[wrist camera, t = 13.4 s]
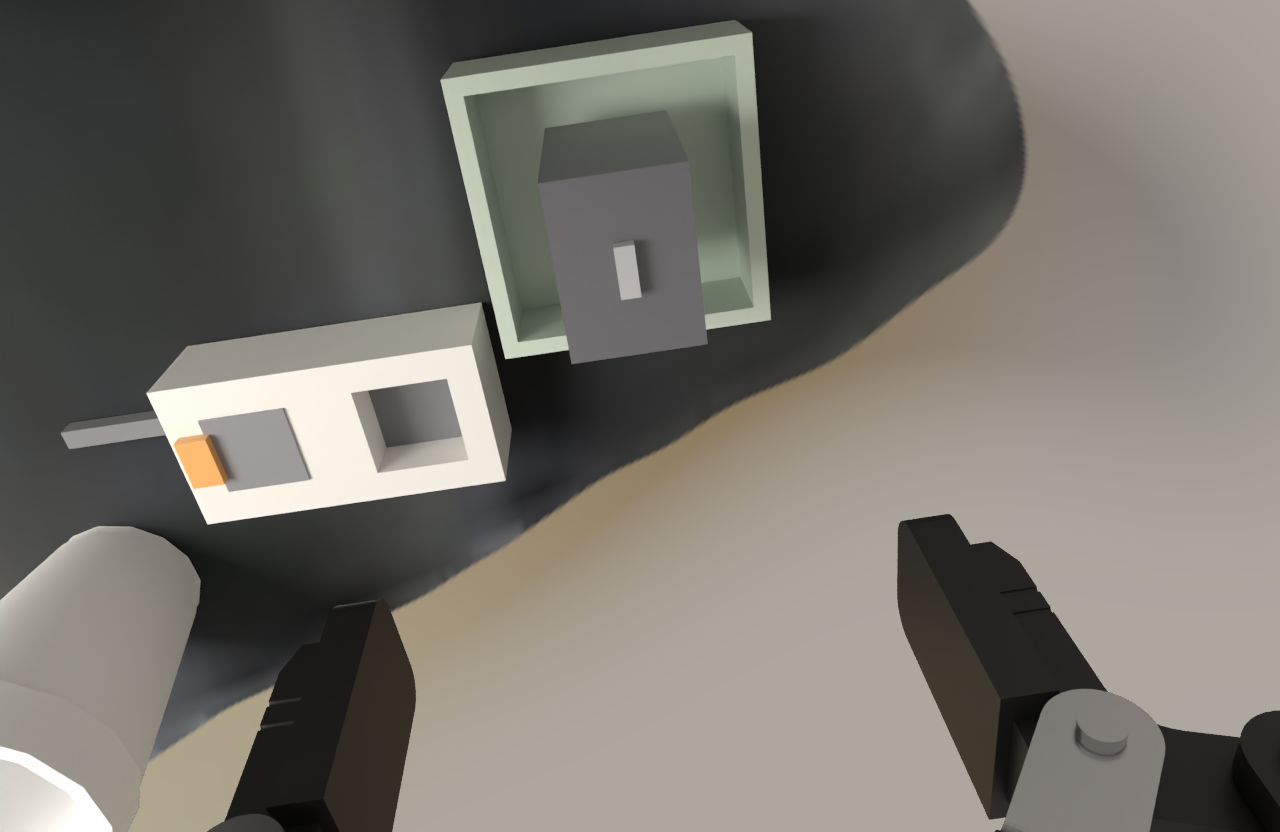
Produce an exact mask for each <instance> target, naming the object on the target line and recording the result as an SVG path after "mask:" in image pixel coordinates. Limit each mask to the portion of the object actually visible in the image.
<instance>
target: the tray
mask: <svg viewBox="0 0 1280 832" xmlns="http://www.w3.org/2000/svg"><path fill="white" fill-rule="evenodd" d="M441 85H442V89H443V93H444V98H445V102H446V106H447V111H448V115H449V119H450V123H451V128H452V132H453V136H454V141H455V145H456V149H457V154H458V158H459V162H460V166H461V171H462V175H463V179H464V184H465V188H466V192H467V197H468V201H469V205H470V209H471V214H472V218H473V222H474V227H475V231H476V235H477V240H478V244H479V248H480V252H481V257H482V261H483V265H484V270H485V274H486V278H487V283H488V287H489V291H490V295H491V300H492V304H493V308H494V313H495V317H496V321H497V326H498V330H499V334H500V339H501V343H502V347H503V351H504V356H505V359H510V358H517V357H524V356H531V355H537V354H544V353H551V352H558V351H564V350H569V347H568V342H567V337H566V332H565V326H564V321H563V316H562V311H561V305H560V300H559V295H558V290H557V284H556V279H555V274H554V268H553V263H552V258H551V253H550V247H549V242H548V237H547V232H546V226H545V221H544V216H543V211H542V205H541V200H540V195H539V190H538V184H537V183H538V175H539V168H540V160H541V153H542V145H543V138H544V130H545V128H550V127H557V126H563V125H570V124H577V123H583V122H590V121H597V120H603V119H610V118H617V117H623V116H630V115H637V114H643V113H650V112H657V111H663V110H666V111H667V113H668V115H669V118H670V120H671V122H672V124H673V127H674V129H675V131H676V133H677V136H678V138H679V140H680V143H681V145H682V147H683V149H684V152H685V154H686V156H687V159H688V161H689V169H690V179H691V189H692V198H693V208H694V218H695V227H696V237H697V246H698V256H699V266H700V275H701V285H702V294H703V304H704V314H705V323H706V329H713V328H720V327H726V326H733V325H740V324H746V323H753V322H760V321H767V320H771V313H770V298H769V283H768V267H767V252H766V237H765V222H764V207H763V191H762V176H761V161H760V146H759V130H758V115H757V100H756V85H755V69H754V54H753V39H752V32H751V31H750V30H748V29H747V28H745V27H744V26H743V25H741V24H740V23H739V22H737V21H736V20H731V21H724V22H717V23H711V24H704V25H698V26H691V27H685V28H678V29H672V30H665V31H658V32H652V33H645V34H639V35H632V36H626V37H619V38H612V39H606V40H599V41H593V42H586V43H580V44H573V45H566V46H560V47H553V48H547V49H540V50H534V51H527V52H520V53H514V54H507V55H501V56H494V57H488V58H481V59H474V60H468V61H461V62H455V63H453V64H452V65H451V66H450V68H449V69H448V70H447V72H446V73H445V74H444V76H443V77H442V78H441Z"/></svg>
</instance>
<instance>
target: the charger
mask: <svg viewBox="0 0 1280 832" xmlns="http://www.w3.org/2000/svg"><path fill="white" fill-rule="evenodd" d="M537 184H538V190H539V195H540V200H541V205H542V211H543V216H544V221H545V226H546V232H547V237H548V242H549V247H550V253H551V258H552V263H553V268H554V274H555V279H556V284H557V290H558V295H559V300H560V305H561V311H562V316H563V321H564V326H565V332H566V337H567V342H568V347H569V353H570V358H571V363H572V364H576V363H583V362H589V361H596V360H603V359H610V358H617V357H624V356H630V355H637V354H644V353H651V352H658V351H664V350H671V349H678V348H685V347H692V346H699V345H705V344H708V343H707V333H706V323H705V314H704V304H703V294H702V285H701V275H700V266H699V256H698V246H697V237H696V227H695V218H694V208H693V198H692V189H691V179H690V169H689V161H688V159H687V156H686V154H685V152H684V149H683V147H682V145H681V143H680V140H679V138H678V136H677V133H676V131H675V129H674V127H673V124H672V122H671V120H670V118H669V115H668V113H667V111H666V110H663V111H657V112H650V113H643V114H637V115H630V116H623V117H617V118H610V119H603V120H597V121H590V122H583V123H577V124H570V125H563V126H557V127H550V128H545V130H544V138H543V145H542V153H541V160H540V168H539V175H538V183H537Z"/></svg>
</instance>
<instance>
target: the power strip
mask: <svg viewBox="0 0 1280 832" xmlns="http://www.w3.org/2000/svg"><path fill="white" fill-rule="evenodd" d="M147 395H148V398H149V400H150V402H151V404H152V406H153V408H154V411H148V412H141V413H134V414H127V415H121V416H114V417H107V418H100V419H94V420H87V421H80V422H73V423H70V424H69V425H68V426H67V427H66V428H65V429H64V430H63V431H62V432H61V435H62V436H63V438H64V440H65V442H66V444H67V446H68V448H69V449H73V448H80V447H87V446H94V445H100V444H107V443H114V442H121V441H128V440H134V439H141V438H148V437H155V436H161V435H166V436H167V438H168V441H169V443H170V445H171V447H172V449H173V451H174V453H175V456H176V458H177V460H178V462H179V464H180V466H181V468H182V471H183V473H184V475H185V477H186V479H187V481H188V483H189V486H190V488H191V490H192V492H193V494H194V496H195V499H196V501H197V503H198V505H199V507H200V509H201V511H202V514H203V516H204V518H205V520H206V522H207V524H214V523H220V522H227V521H234V520H241V519H248V518H255V517H261V516H268V515H275V514H282V513H289V512H295V511H302V510H309V509H316V508H323V507H330V506H336V505H343V504H350V503H357V502H364V501H370V500H377V499H384V498H391V497H398V496H405V495H411V494H418V493H425V492H432V491H439V490H445V489H452V488H459V487H466V486H473V485H480V484H486V483H493V482H500V481H506V473H507V465H508V457H509V448H510V440H511V432H512V428H511V424H510V420H509V416H508V412H507V407H506V403H505V399H504V395H503V391H502V387H501V382H500V378H499V374H498V370H497V366H496V361H495V357H494V353H493V349H492V345H491V340H490V336H489V332H488V328H487V324H486V320H485V315H484V311H483V307H482V303H474V304H468V305H461V306H454V307H447V308H441V309H434V310H427V311H421V312H414V313H407V314H400V315H394V316H387V317H380V318H374V319H367V320H360V321H353V322H347V323H340V324H333V325H327V326H320V327H313V328H307V329H300V330H293V331H286V332H280V333H273V334H266V335H260V336H253V337H246V338H239V339H233V340H226V341H219V342H213V343H206V344H199V345H192V346H187V347H186V348H185V350H184V351H183V352H182V353H181V354H180V355H179V356H178V358H177V359H176V360H175V361H174V362H173V363H172V364H171V366H170V367H169V368H168V369H167V370H166V371H165V372H164V374H163V375H162V376H161V377H160V378H159V379H158V381H157V382H156V383H155V384H154V385H153V386H152V387H151V389H150V390H149V391H148V392H147Z"/></svg>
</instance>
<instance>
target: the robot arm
mask: <svg viewBox="0 0 1280 832" xmlns="http://www.w3.org/2000/svg"><path fill="white" fill-rule="evenodd" d="M897 575H898V576H897V596H898V597H897V599H898V608H899V613H900V617H901V622H902V626H903V629H904V632H905V635H906V637H907V639H908V642H909V644H910V646H911V648H912V650H913V653H914V655H915V657H916V659H917V661H918V664H919V666H920V668H921V670H922V672H923V675H924V677H925V679H926V681H927V683H928V686H929V688H930V690H931V692H932V694H933V697H934V699H935V701H936V703H937V705H938V708H939V710H940V712H941V714H942V717H943V719H944V721H945V723H946V725H947V728H948V730H949V732H950V734H951V737H952V739H953V741H954V743H955V745H956V747H957V750H958V752H959V754H960V756H961V759H962V761H963V763H964V765H965V767H966V770H967V772H968V774H969V776H970V778H971V781H972V783H973V785H974V787H975V789H976V792H977V794H978V796H979V798H980V800H981V803H982V805H983V807H984V809H985V812H986V814H987V816H988V818H989V819H997V818H1004V817H1006V818H1005V821H1004V824H1003V826H1002V829H1001V831H999V830H996V831H995V832H1280V711H1271V712H1265V713H1262V714H1260V715H1257V716H1255V717H1254V718H1252V719H1251V720H1250V721H1249V722H1248V723H1247V724H1246V725H1245V726H1244V728H1243V730H1242V733H1241V736H1240V738H1239V737H1231V736H1222V735H1214V734H1205V733H1197V732H1189V731H1182V730H1176V729H1171V728H1167V727H1164V726H1160V725H1158V724H1156V722H1155V721H1154V720H1153V719H1152V718H1151V717H1150V716H1149V714H1147V713H1146V712H1145V711H1144V710H1143V709H1141V708H1140V707H1139V706H1137V705H1136V704H1134V703H1133V702H1131V701H1129V700H1127V699H1125V698H1123V697H1121V696H1118V695H1115V694H1112V693H1109V692H1108V691H1107V690H1106V689H1105V688H1104V686H1103V685H1102V683H1101V682H1100V681H1099V679H1098V677H1097V676H1096V674H1095V673H1094V671H1093V670H1092V668H1091V667H1090V665H1089V664H1088V662H1087V661H1086V660H1085V658H1084V656H1083V655H1082V653H1081V652H1080V651H1079V649H1078V648H1077V646H1076V645H1075V643H1074V642H1073V640H1072V639H1071V637H1070V636H1069V634H1068V633H1067V632H1066V630H1065V628H1064V627H1063V625H1062V624H1061V622H1060V621H1059V619H1058V618H1057V616H1056V615H1055V613H1054V612H1053V613H1052V612H1051V609H1050V606H1049V604H1048V603H1047V601H1046V600H1045V598H1044V597H1043V596H1042V594H1041V593H1040V592H1038V591H1037V587H1036V585H1035V584H1034V582H1033V581H1032V579H1031V578H1030V576H1029V575H1028V573H1027V572H1026V570H1025V569H1024V567H1023V566H1022V564H1021V563H1020V562H1019V561H1018V560H1017V559H1015V558H1014V557H1012V556H1011V555H1010V554H1008V553H1007V552H1005V551H1004V550H1002V549H1001V548H1000V547H998V546H997V545H995V544H994V543H993V542H985V543H979V544H972V545H970V543H969V542H968V540H967V539H966V537H965V535H964V534H963V532H962V530H961V529H960V527H959V525H958V524H957V522H956V521H955V519H954V518H953V517H952V516H951V515H950V514H945V515H938V516H932V517H925V518H919V519H912V520H906V521H901V522H900V523H899V527H898V574H897ZM415 693H416V691H415V681H414V675H413V671H412V668H411V665H410V662H409V659H408V657H407V654H406V651H405V649H404V646H403V643H402V641H401V638H400V635H399V633H398V630H397V627H396V625H395V622H394V619H393V617H392V614H391V611H390V609H389V606H388V605H387V603H386V602H385V601H384V600H382V599H379V600H373V601H366V602H360V603H353V604H347V605H340V606H335V607H333V608H332V610H331V611H330V613H329V616H328V619H327V622H326V625H325V628H324V631H323V634H322V637H321V640H320V643H313V644H306V645H302V646H301V647H300V648H299V650H298V651H297V652H296V653H295V655H294V656H293V657H292V658H291V659H290V661H289V662H288V663H287V664H286V665H285V667H284V668H283V669H282V670H281V671H280V673H279V675H278V678H277V681H276V683H275V686H274V689H273V692H272V694H271V697H270V700H269V704H270V705H269V707H267V708H266V711H265V714H264V716H263V719H262V722H261V724H260V726H261V730H260V731H258V732H257V735H256V738H255V740H254V743H253V746H252V749H251V751H250V754H249V757H248V759H247V762H246V765H245V768H244V770H243V773H242V776H241V778H240V781H239V784H238V787H237V789H236V792H235V795H234V797H233V800H232V803H231V806H230V808H229V811H228V814H227V816H226V819H225V821H224V822H222V823H220V824H218V825H216V826H215V827H213V828H212V829H210V830H209V831H207V832H392V829H393V823H394V818H395V813H396V808H397V802H398V797H399V792H400V786H401V781H402V776H403V770H404V765H405V760H406V754H407V749H408V744H409V738H410V732H411V728H412V722H413V717H414V712H415V702H416V694H415Z"/></svg>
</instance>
